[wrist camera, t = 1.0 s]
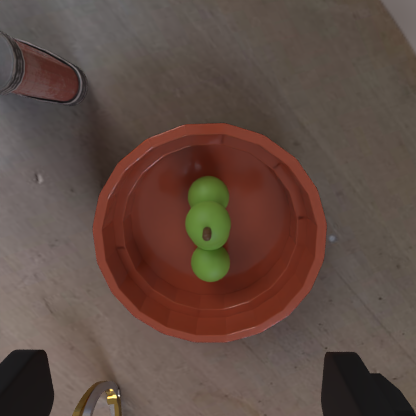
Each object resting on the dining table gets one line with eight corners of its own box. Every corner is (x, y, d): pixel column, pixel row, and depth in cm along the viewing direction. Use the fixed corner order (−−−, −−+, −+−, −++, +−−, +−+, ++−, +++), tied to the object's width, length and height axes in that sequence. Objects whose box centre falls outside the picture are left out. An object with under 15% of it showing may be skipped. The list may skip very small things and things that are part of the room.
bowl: (107, 128, 21) (78, 127, 16) (310, 122, 20) (335, 119, 16) (127, 305, 24) (107, 343, 20) (299, 303, 24) (318, 342, 20)
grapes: (188, 173, 21) (177, 190, 15) (228, 172, 21) (232, 189, 15) (193, 271, 23) (184, 320, 17) (229, 270, 23) (233, 320, 17)
